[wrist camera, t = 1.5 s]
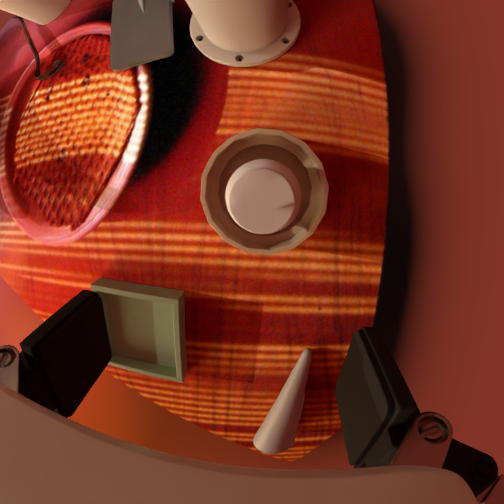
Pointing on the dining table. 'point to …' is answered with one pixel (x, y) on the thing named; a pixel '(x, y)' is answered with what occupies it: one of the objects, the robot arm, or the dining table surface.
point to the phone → (140, 33)
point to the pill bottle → (263, 196)
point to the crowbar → (50, 70)
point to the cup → (35, 9)
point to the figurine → (142, 4)
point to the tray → (145, 327)
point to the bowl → (273, 148)
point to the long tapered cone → (285, 411)
